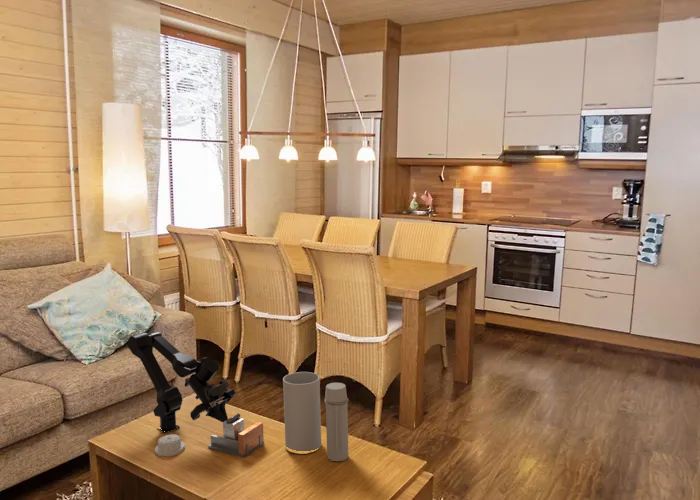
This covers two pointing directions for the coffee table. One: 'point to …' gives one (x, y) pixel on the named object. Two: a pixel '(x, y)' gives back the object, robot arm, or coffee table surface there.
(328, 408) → the water bottle
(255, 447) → the grey and orange holder
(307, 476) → the coffee table surface
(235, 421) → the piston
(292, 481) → the coffee table surface
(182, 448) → the mechanical component
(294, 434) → the cylinder vase
